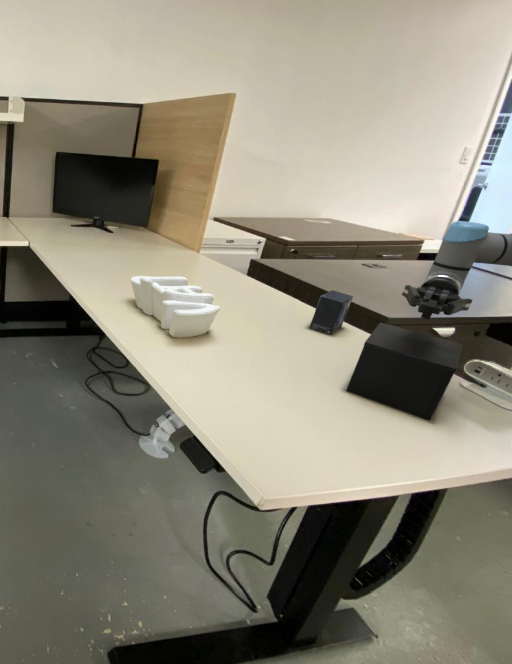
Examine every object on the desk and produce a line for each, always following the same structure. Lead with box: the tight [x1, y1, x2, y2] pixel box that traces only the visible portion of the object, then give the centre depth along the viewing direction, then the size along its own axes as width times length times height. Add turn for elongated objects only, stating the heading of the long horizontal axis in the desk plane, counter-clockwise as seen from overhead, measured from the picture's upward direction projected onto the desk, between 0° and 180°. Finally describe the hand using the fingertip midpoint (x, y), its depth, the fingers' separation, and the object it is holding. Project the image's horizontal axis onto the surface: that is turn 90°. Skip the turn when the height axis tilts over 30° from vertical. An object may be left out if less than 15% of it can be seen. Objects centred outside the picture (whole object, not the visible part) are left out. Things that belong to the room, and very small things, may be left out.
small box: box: [308, 289, 354, 336], centre depth 139 cm, size 11×6×10 cm, turn 134°
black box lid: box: [363, 322, 463, 373], centre depth 101 cm, size 18×16×1 cm
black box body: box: [345, 344, 455, 422], centre depth 104 cm, size 17×16×12 cm
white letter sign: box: [130, 275, 221, 338], centre depth 136 cm, size 35×16×11 cm, turn 11°
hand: (427, 312), depth 97 cm, fingers closed
